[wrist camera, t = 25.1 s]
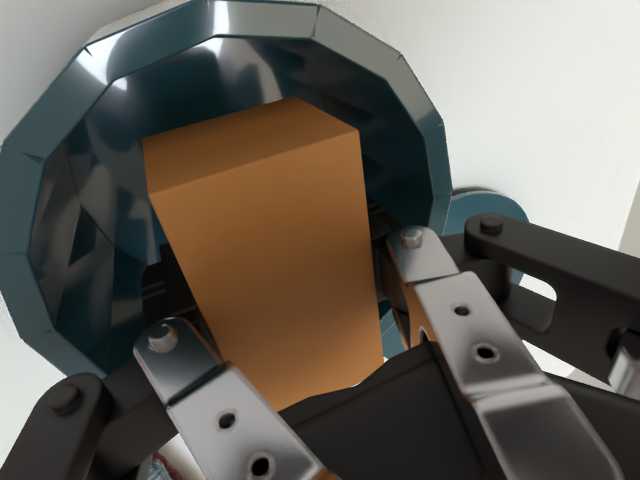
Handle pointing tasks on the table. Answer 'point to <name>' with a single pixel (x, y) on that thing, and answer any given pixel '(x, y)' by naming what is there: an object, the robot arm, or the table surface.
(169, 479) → the packaged food
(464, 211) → the lid
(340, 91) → the pot
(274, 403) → the orange rectangular block
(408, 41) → the table surface
